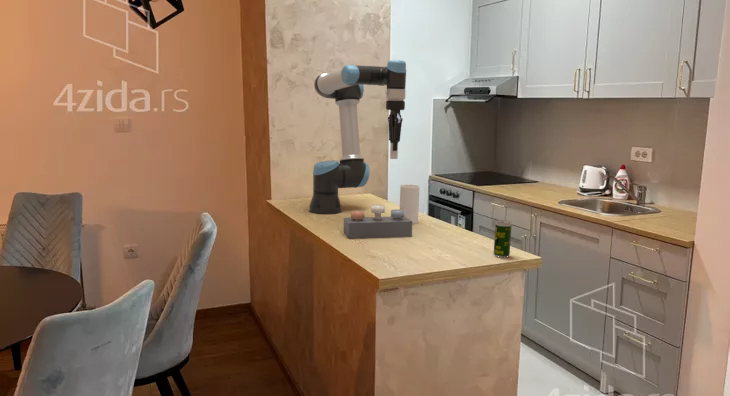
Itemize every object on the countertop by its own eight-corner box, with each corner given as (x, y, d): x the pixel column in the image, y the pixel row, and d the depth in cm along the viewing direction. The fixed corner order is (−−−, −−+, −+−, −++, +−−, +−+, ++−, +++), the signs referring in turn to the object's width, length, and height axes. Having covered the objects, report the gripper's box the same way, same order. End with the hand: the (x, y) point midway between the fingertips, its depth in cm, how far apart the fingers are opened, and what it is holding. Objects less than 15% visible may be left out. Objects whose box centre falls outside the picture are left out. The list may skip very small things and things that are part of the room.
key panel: (343, 232, 220) (343, 217, 219) (404, 230, 226) (404, 216, 225) (348, 238, 210) (348, 223, 209) (411, 236, 216) (412, 221, 215)
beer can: (497, 253, 195) (500, 219, 193) (512, 256, 192) (514, 221, 190) (490, 256, 191) (492, 221, 189) (505, 259, 188) (507, 224, 186)
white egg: (369, 223, 219) (370, 204, 218) (382, 222, 221) (382, 204, 219) (372, 226, 214) (373, 207, 213) (385, 225, 216) (386, 207, 214)
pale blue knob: (389, 227, 222) (389, 209, 220) (401, 227, 223) (402, 209, 221) (392, 230, 217) (393, 212, 215) (405, 230, 218) (406, 211, 216)
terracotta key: (349, 229, 218) (349, 210, 217) (362, 228, 219) (362, 210, 218) (352, 232, 213) (352, 213, 212) (365, 231, 214) (365, 212, 213)
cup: (417, 224, 238) (418, 187, 235) (397, 223, 240) (399, 186, 237) (419, 220, 246) (420, 184, 243) (400, 219, 248) (401, 183, 245)
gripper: (382, 99, 229) (380, 157, 233) (391, 99, 217) (389, 160, 221) (399, 100, 231) (398, 157, 235) (409, 100, 219) (407, 160, 223)
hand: (393, 158), depth 228 cm, fingers closed
